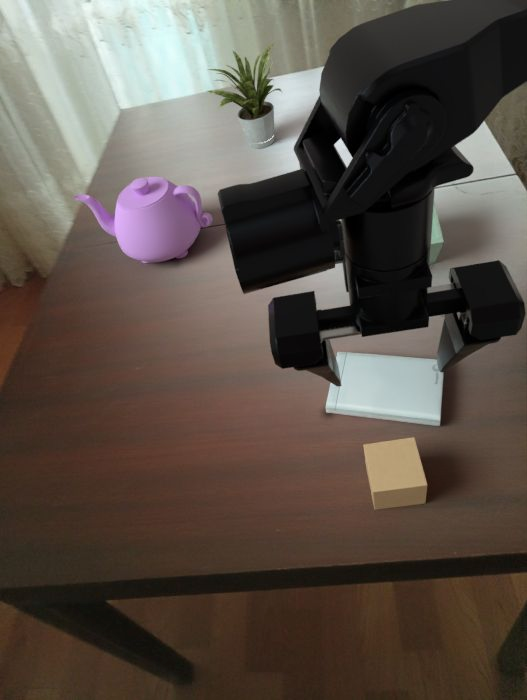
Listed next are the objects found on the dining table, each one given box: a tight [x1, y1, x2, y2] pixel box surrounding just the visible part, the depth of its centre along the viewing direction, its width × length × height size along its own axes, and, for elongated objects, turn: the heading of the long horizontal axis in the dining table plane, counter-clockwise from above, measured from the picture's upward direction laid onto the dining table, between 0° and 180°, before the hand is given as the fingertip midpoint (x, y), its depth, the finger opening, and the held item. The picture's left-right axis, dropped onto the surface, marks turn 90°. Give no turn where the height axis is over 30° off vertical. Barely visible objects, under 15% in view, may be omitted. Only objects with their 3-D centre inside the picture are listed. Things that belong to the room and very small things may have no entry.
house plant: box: [206, 43, 283, 150], centre depth 93 cm, size 14×14×16 cm
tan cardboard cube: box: [363, 436, 428, 511], centre depth 49 cm, size 5×5×4 cm
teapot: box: [73, 176, 213, 264], centre depth 80 cm, size 20×14×12 cm
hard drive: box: [325, 351, 445, 427], centre depth 57 cm, size 2×8×12 cm
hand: (388, 375), depth 46 cm, fingers open, 9 cm apart
